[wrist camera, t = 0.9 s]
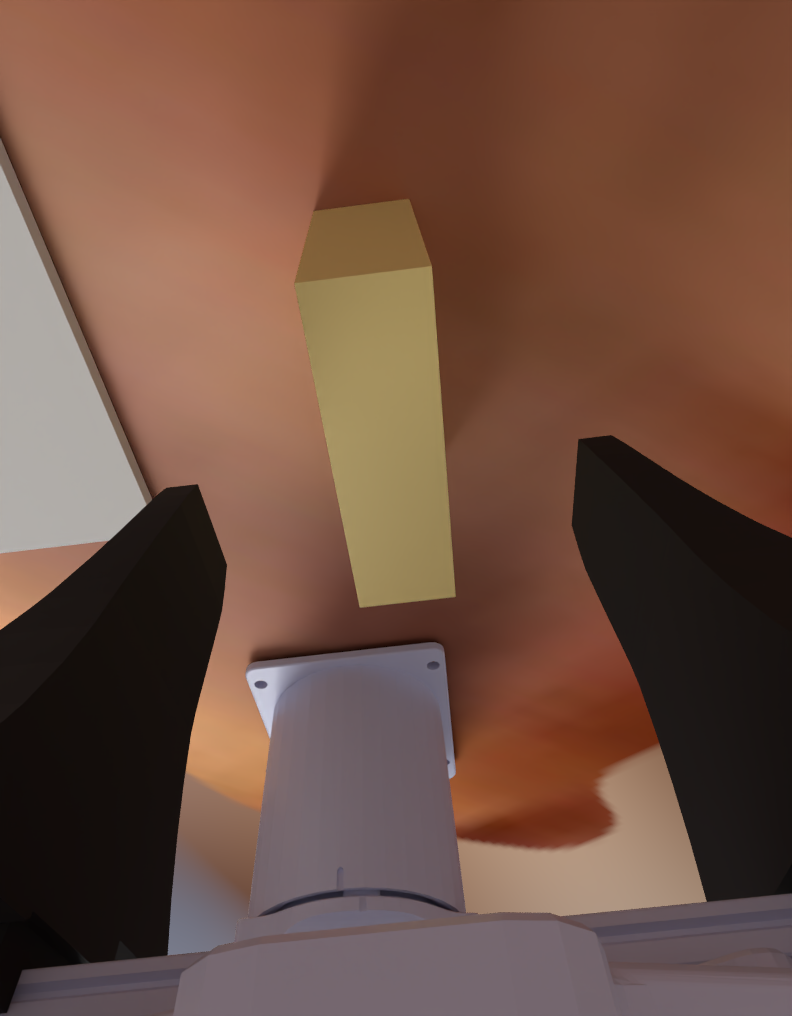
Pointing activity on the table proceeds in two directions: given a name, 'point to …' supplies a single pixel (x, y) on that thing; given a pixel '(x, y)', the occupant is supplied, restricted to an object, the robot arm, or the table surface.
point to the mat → (52, 404)
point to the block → (380, 396)
